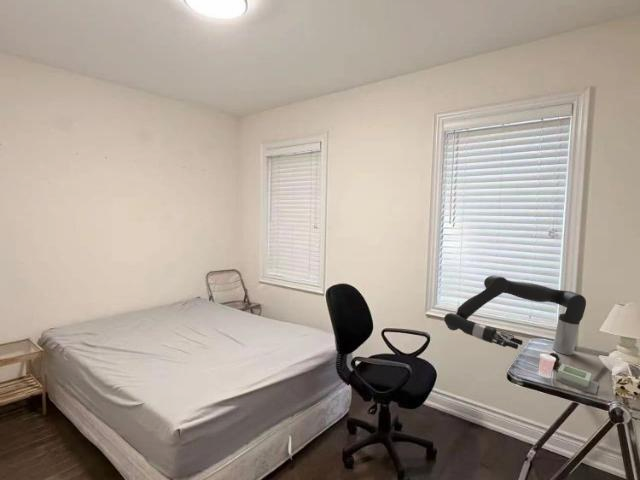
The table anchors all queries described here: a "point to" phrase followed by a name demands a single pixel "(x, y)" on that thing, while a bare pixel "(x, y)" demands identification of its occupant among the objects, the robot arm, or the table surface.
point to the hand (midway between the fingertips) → (520, 344)
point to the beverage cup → (546, 364)
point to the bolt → (556, 360)
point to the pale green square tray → (576, 378)
